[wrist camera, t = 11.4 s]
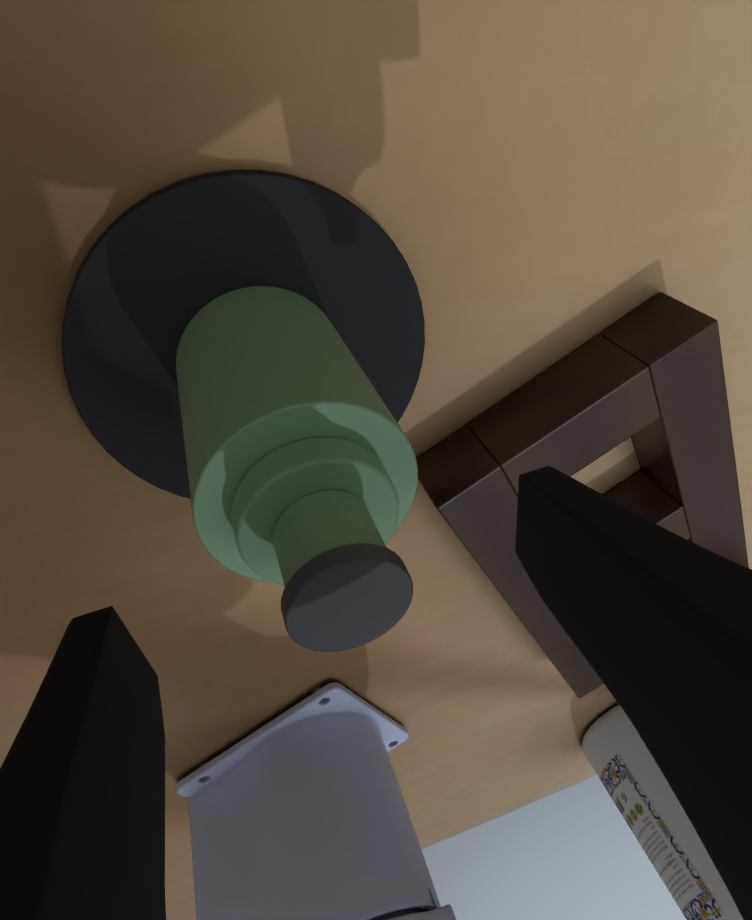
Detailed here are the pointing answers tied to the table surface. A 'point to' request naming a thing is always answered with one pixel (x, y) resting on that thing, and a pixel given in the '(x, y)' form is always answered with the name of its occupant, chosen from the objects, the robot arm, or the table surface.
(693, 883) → the bath foam
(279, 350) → the green bottle
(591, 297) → the table surface
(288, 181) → the coaster
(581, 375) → the bottle holder
